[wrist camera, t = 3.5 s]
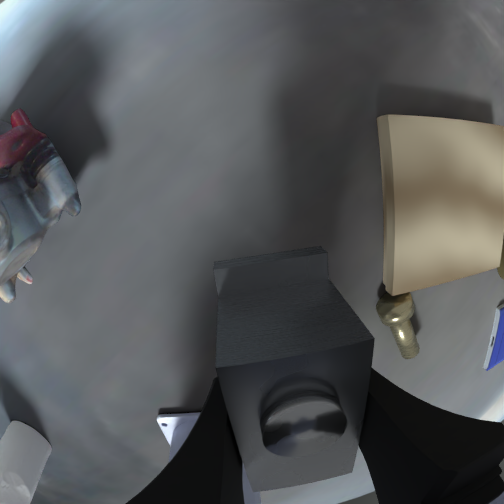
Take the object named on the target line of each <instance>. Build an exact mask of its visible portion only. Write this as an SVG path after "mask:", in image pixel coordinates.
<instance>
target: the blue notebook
mask: <svg viewBox="0 0 504 504" xmlns="http://www.w3.org/2000/svg"><path fill="white" fill-rule="evenodd" d="M503 360H504V304H502V305H500V306H498V307H497V308H496V313H495V319H494V324H493V329H492V334H491V339H490V343H489V347H488V352H487V355H486V359H485V363H484V367H483V368H484V369H485V370H486V371H488V370H489V369H491V368H492V367H494V366H495V365H497V364H498V363H500V362H501V361H503Z"/></svg>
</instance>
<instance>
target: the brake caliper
mask: <svg viewBox="0 0 504 504" xmlns="http://www.w3.org/2000/svg"><path fill="white" fill-rule="evenodd" d="M63 210H64V211H66V212H67V213H68V214H70V215H71V216H77V215H78V214H79V212H80V210H81V203H80V199H79V195H78V190H77V186H76V184H75V182H74V181H73V179H72V177H71V176H70V174H69V171H68V169H67V167H66V165H65V164H64V162H63V160H62V159H61V157H60V156H59V154H58V153H57V151H56V149H55V147H54V146H53V144H52V142H51V140H50V139H49V138H48V137H47V136H46V134H45V133H41V132H39V131H38V130H36V129H35V128H33V126H32V124H31V123H30V121H29V118H28V117H27V115H26V114H25V112H24V111H23V110H22V109H17V110H15V111H14V112H13V113H12V115H11V124H10V123H7V122H5V121H0V297H1V298H2V299H3V300H4V301H5V302H6V303H11V302H13V301H14V300H15V297H16V293H15V282H16V278H17V277H18V278H20V279H21V280H23V281H24V282H26V283H28V284H32V276H31V275H30V273H29V272H28V271H27V270H26V268H25V267H24V266H25V265H26V263H27V262H28V261H29V260H30V258H31V257H32V256H33V254H34V253H35V252H36V251H37V249H38V248H39V246H40V244H41V242H42V240H43V238H44V235H45V233H46V231H47V230H48V228H49V227H51V226H52V225H54V224H56V223H57V222H58V221H59V219H60V216H61V213H62V211H63Z"/></svg>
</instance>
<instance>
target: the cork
mask: <svg viewBox="0 0 504 504" xmlns="http://www.w3.org/2000/svg"><path fill="white" fill-rule="evenodd" d="M497 268H498V273H499V275H500V277H501V278H502V279H504V236H503V245H502V253H501V260H500V267H497Z"/></svg>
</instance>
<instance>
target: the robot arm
mask: <svg viewBox="0 0 504 504" xmlns="http://www.w3.org/2000/svg"><path fill="white" fill-rule="evenodd" d="M157 422H158V424H159V426H160V427H161V429H162V431H163V433H164V435H165V437H166V439H167V441H168V442H169V444H170V446H171V447H170V455H169V463H168V464H167V466H166V467H165V468H164V469H163V470H162V471H161V473H160V474H159V475H158V476H157V477H156V478H155V479H154V480H153V481H152V482H151V483H149V484H148V485H147V486H146V487H145V488H144V489H143V490H142V491H141V492H140V493H139V494H137V495H136V496H135V497H134V498H132V499H131V500H130V501H128V502H127V503H126V504H261V497H260V491H258V492H253V491H252V488H251V486H250V483H249V480H248V477H247V474H246V470H245V467H244V464H243V461H242V458H241V455H240V452H239V448H238V445H237V442H236V439H235V435H234V432H233V429H232V425H231V422H230V418H229V415H228V411H227V408H226V404H225V401H224V397H223V394H222V390H221V386H220V382H219V379H218V377H216V378H215V379H214V380H213V383H212V387H211V389H210V392H209V395H208V397H207V400H206V402H205V404H204V407H203V409H202V411H201V412H198V413H183V414H161V415H158V416H157ZM358 445H359V447H360V450H361V452H362V454H363V456H364V458H365V461H366V463H367V466H368V469H369V472H370V475H371V478H372V481H373V484H374V488H375V491H376V494H377V498H378V501H379V504H504V481H503V480H502V479H501V477H500V474H501V472H502V470H501V468H500V467H499V464H500V462H501V461H502V460H503V458H504V425H503V424H502V423H500V422H492V421H485V420H478V419H474V418H470V417H465V416H462V415H458V414H455V413H452V412H449V411H446V410H443V409H441V408H438V407H436V406H433V405H431V404H429V403H427V402H425V401H422V400H420V399H418V398H416V397H415V396H413V395H411V394H409V393H408V392H406V391H404V390H403V389H401V388H399V387H398V386H396V385H395V384H393V383H392V382H390V381H389V380H388V379H386V378H385V377H383V376H382V375H381V374H379V373H378V372H377V371H375V370H374V369H373V368H371V374H370V381H369V388H368V395H367V401H366V407H365V413H364V419H363V424H362V430H361V435H360V440H359V444H358Z"/></svg>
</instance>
